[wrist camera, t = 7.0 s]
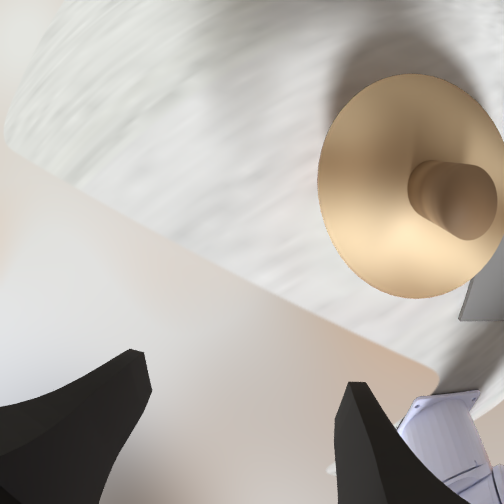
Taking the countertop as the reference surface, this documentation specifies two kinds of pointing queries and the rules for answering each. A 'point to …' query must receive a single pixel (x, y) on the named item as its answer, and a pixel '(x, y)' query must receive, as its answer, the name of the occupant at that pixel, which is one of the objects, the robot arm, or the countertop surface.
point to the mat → (486, 291)
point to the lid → (413, 186)
